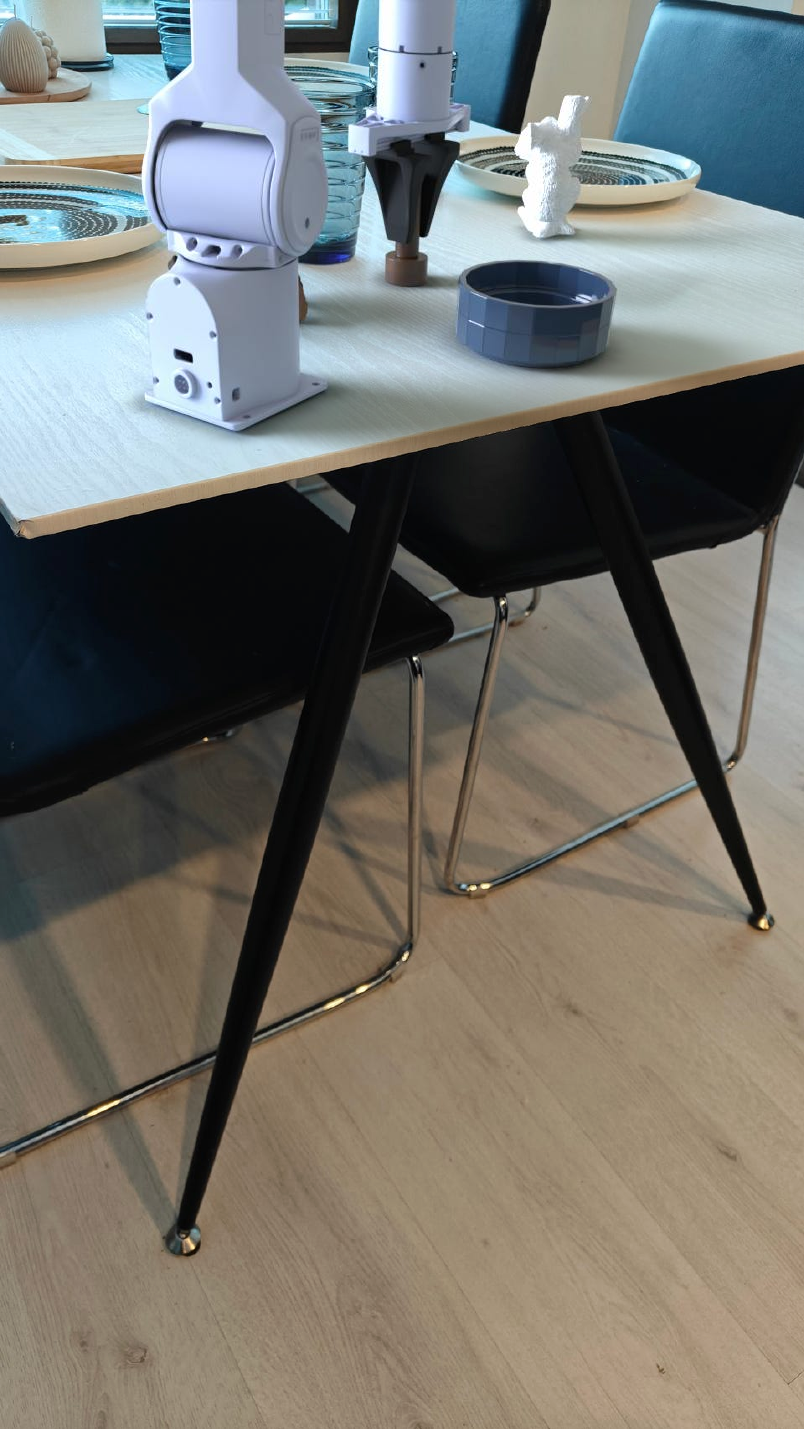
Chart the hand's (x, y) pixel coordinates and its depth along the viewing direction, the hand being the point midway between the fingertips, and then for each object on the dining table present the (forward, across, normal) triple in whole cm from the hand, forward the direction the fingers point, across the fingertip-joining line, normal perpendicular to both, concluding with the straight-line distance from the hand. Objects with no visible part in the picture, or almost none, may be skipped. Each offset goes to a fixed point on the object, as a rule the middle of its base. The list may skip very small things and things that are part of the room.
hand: (407, 238), depth 91 cm
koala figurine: (+4, -22, +2) cm, 22 cm away
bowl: (+3, +7, +16) cm, 18 cm away
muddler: (+3, 0, 0) cm, 3 cm away
